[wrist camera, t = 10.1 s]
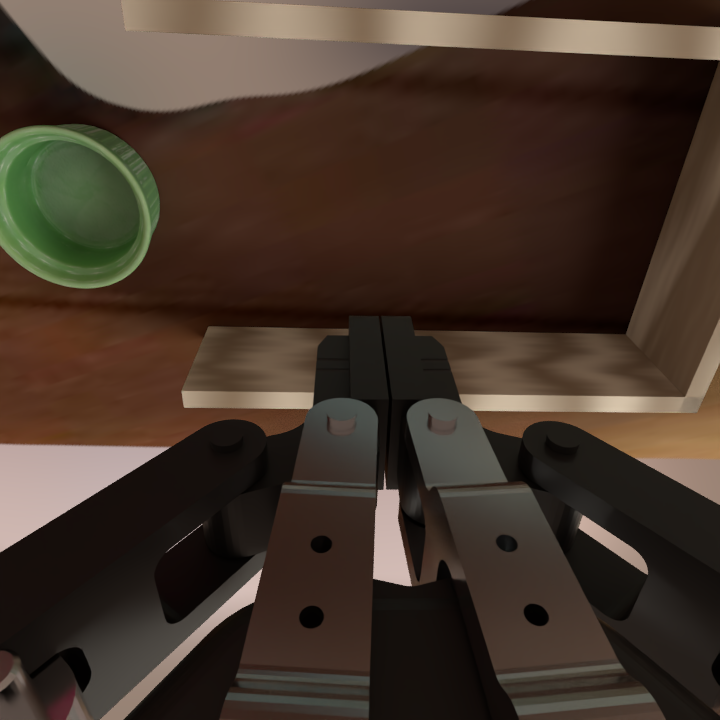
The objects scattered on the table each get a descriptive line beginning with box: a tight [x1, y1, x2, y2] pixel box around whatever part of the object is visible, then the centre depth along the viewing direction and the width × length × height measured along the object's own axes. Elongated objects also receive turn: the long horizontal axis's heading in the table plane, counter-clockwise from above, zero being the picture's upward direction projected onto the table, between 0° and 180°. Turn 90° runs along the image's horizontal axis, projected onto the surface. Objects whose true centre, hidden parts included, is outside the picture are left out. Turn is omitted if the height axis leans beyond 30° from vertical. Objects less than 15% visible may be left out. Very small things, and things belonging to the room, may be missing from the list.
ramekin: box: [0, 124, 160, 288], centre depth 32 cm, size 9×9×4 cm
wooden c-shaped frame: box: [121, 0, 720, 413], centre depth 31 cm, size 32×20×8 cm, turn 87°
